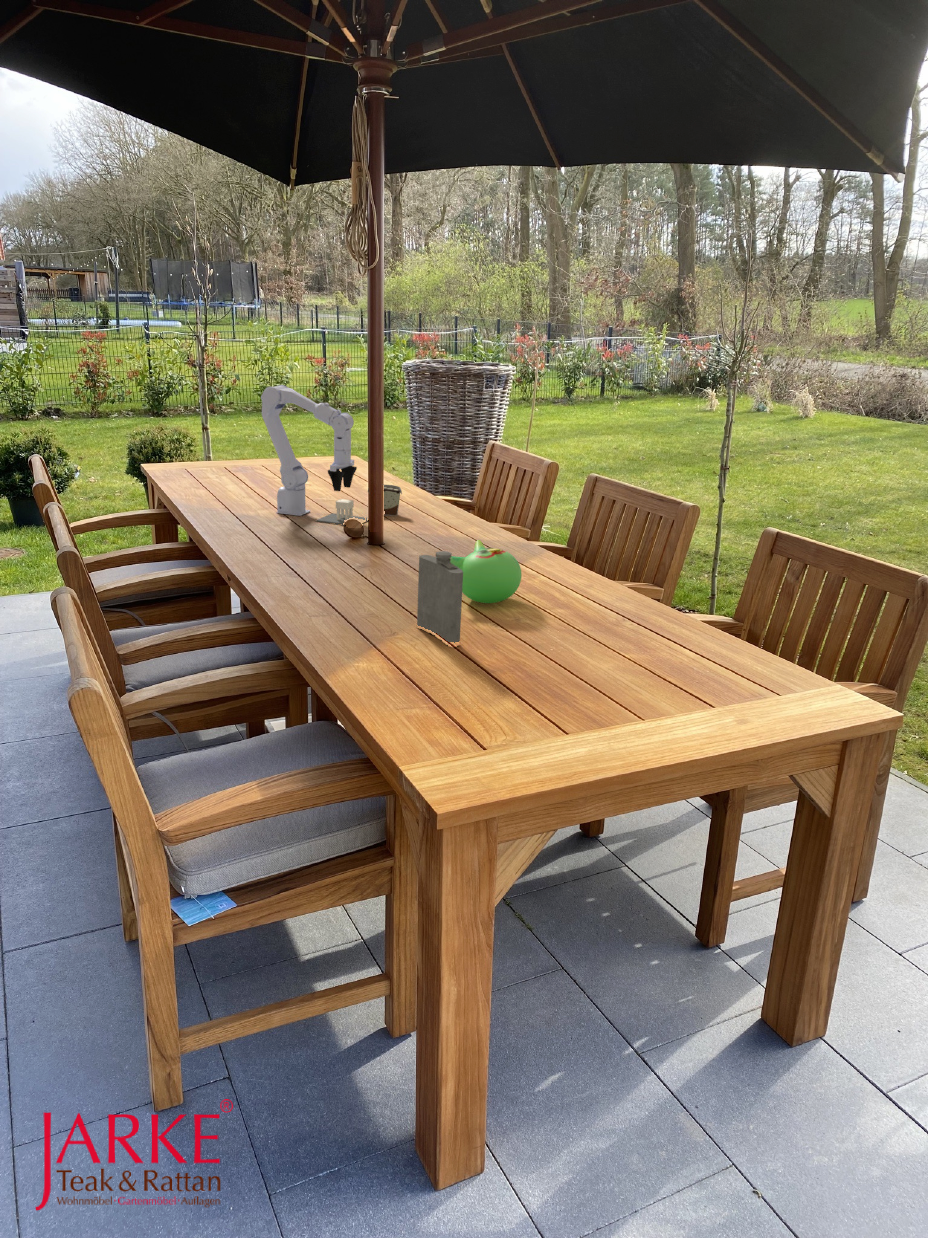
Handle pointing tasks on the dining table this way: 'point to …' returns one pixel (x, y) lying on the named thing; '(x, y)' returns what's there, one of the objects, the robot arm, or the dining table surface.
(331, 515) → the mat
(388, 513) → the food container
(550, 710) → the dining table surface
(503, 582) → the toy bird
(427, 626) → the hip flask
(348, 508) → the cream block with pegs
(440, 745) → the dining table surface
